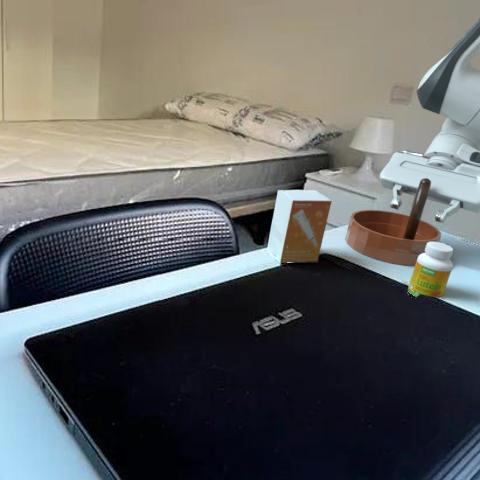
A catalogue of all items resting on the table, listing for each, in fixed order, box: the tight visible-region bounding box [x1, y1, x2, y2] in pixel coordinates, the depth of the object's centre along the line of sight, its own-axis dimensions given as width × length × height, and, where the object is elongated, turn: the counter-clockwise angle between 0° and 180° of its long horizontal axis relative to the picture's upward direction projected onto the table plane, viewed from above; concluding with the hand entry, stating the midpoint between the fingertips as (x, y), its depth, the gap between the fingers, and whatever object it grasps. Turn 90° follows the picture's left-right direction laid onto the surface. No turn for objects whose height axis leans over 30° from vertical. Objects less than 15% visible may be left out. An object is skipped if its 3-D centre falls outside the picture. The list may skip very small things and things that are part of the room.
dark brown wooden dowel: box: [403, 178, 431, 240], centre depth 99 cm, size 5×5×16 cm
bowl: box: [344, 209, 442, 267], centre depth 104 cm, size 17×17×6 cm
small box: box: [266, 189, 332, 264], centre depth 95 cm, size 8×6×13 cm
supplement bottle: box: [407, 241, 454, 298], centre depth 85 cm, size 5×5×10 cm
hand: (415, 213), depth 99 cm, fingers open, 7 cm apart
